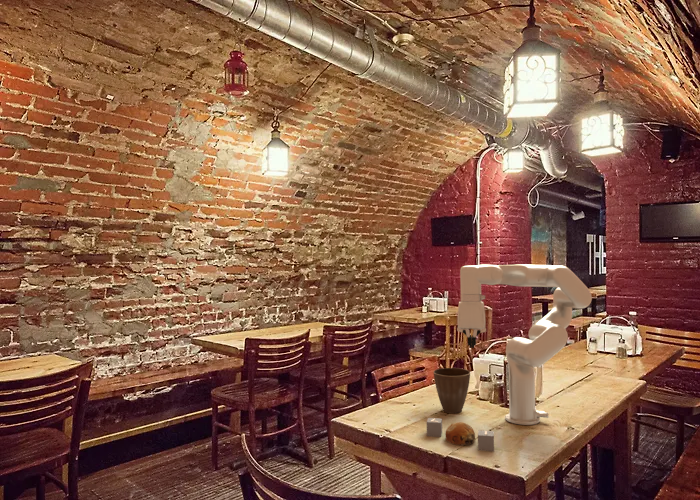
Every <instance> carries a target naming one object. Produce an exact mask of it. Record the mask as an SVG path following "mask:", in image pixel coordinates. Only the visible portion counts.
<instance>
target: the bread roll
mask: <svg viewBox="0 0 700 500" xmlns="http://www.w3.org/2000/svg"><path fill="white" fill-rule="evenodd" d="M475 433H476V432H475V430H474V429H473V427H472V426H471V425H470V424H468V423H466V422H463V421H459V422H453V423H451V424H450V425H449V426H448V427H447V428H446V430H445V433H444V434H445V439H446V440H445V441H447V442H448V443H449V444H452V445H455V446H469V445H472V444H473V443H474V442H475V441H476V434H475Z"/></svg>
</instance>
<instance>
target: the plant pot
mask: <svg viewBox="0 0 700 500" xmlns="http://www.w3.org/2000/svg"><path fill="white" fill-rule="evenodd" d="M432 372H433V379H434V384H435V388H436V393H437V396H438V399H439V402H440V405H441V407H442V411H443V412H445V413H448V414H458V413H461V412H462V411H463V409H464V405H465V404H466V403H465V402H466V401H467V400H466V399H467V395H468V392H469V391H468V390H469V386H470V379H471V371H470V370H469V369H464V368H459V367H442V368H437V369H434V370H433V371H432Z"/></svg>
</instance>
